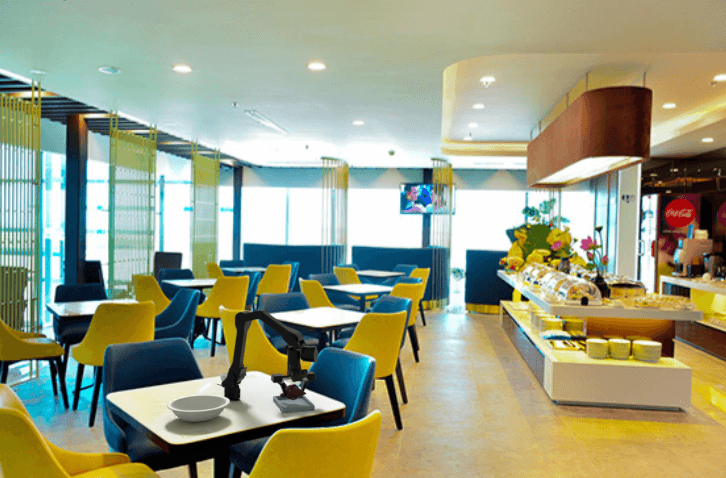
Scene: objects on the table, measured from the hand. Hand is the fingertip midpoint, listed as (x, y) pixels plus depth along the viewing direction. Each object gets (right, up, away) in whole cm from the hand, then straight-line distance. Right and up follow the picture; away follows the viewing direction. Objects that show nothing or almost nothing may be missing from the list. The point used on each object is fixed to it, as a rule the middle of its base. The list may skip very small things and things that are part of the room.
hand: (293, 396), depth 247 cm
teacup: (-37, -4, +36) cm, 52 cm away
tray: (0, -4, 0) cm, 4 cm away
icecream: (0, -1, 0) cm, 1 cm away
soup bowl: (-35, -3, -21) cm, 41 cm away
